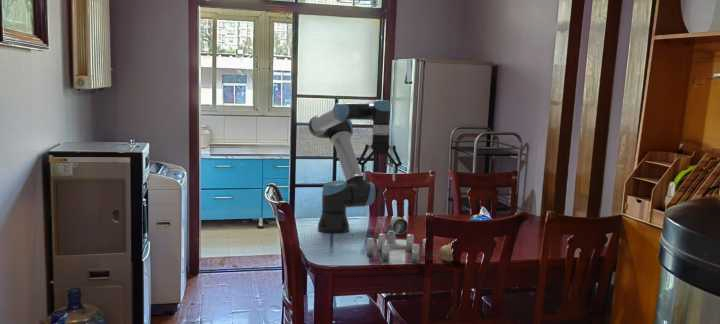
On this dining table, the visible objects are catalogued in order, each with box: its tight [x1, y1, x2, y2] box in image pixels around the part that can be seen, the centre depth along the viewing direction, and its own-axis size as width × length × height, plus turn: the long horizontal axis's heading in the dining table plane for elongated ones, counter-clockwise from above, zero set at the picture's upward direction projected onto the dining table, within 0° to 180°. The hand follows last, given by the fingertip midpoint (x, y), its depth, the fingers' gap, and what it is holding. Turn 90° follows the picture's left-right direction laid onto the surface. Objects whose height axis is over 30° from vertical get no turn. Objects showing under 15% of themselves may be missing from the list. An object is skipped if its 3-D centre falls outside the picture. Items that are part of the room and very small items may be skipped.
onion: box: [438, 242, 452, 263], centre depth 217 cm, size 8×8×7 cm
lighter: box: [386, 224, 401, 244], centre depth 237 cm, size 7×2×8 cm, turn 127°
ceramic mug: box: [383, 216, 409, 235], centre depth 259 cm, size 11×8×8 cm
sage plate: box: [375, 238, 406, 250], centre depth 237 cm, size 14×10×1 cm
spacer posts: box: [365, 233, 427, 264], centre depth 221 cm, size 26×18×7 cm
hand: (378, 180), depth 247 cm, fingers open, 13 cm apart
